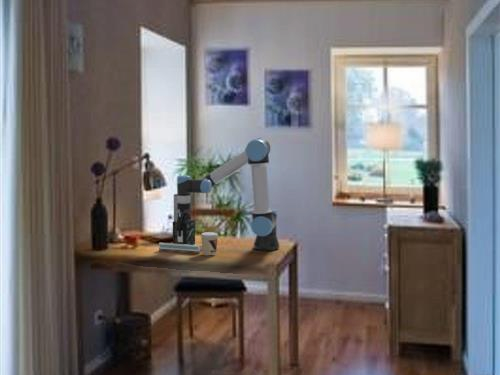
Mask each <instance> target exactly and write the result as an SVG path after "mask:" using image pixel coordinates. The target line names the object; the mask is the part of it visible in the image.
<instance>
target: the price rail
mask: <svg viewBox="0 0 500 375" xmlns="http://www.w3.org/2000/svg"><path fill="white" fill-rule="evenodd" d="M199 246H200V244H199V245H198V244H197V245H196V244H194V245H186V244H173V243H171V242H169V243H168V242H159V243H158V250H159V249H172V250H186V251H199Z"/></svg>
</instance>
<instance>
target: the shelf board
mask: <svg viewBox="0 0 500 375" xmlns="http://www.w3.org/2000/svg"><path fill="white" fill-rule="evenodd" d="M158 251H159V252H165V253H166V252H168V253H178V252H181V254H192V253H200V252H201V253H202V245H199V251H186V250H172V249H159V248H158ZM201 253H200V254H201Z"/></svg>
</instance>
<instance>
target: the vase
mask: <svg viewBox="0 0 500 375" xmlns="http://www.w3.org/2000/svg"><path fill="white" fill-rule="evenodd" d="M177 203H178V202H177V193H175V194H173V222H174V221H177V219H178V213H180V210H178V209H177ZM189 203H190V204H191V201H190V202H189ZM189 210H190V211H191V208H190V209H189Z"/></svg>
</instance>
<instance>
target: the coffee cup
mask: <svg viewBox="0 0 500 375" xmlns="http://www.w3.org/2000/svg"><path fill="white" fill-rule="evenodd" d="M200 237H201V246H202V252H201V253H202V255H203V254H204V255H215V254H216V255H217V251H218V237H219V235H218V233H217V232H213V231H206V232H202V233H201V234H200ZM204 255H203V256H204ZM216 255H215V256H216Z"/></svg>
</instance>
